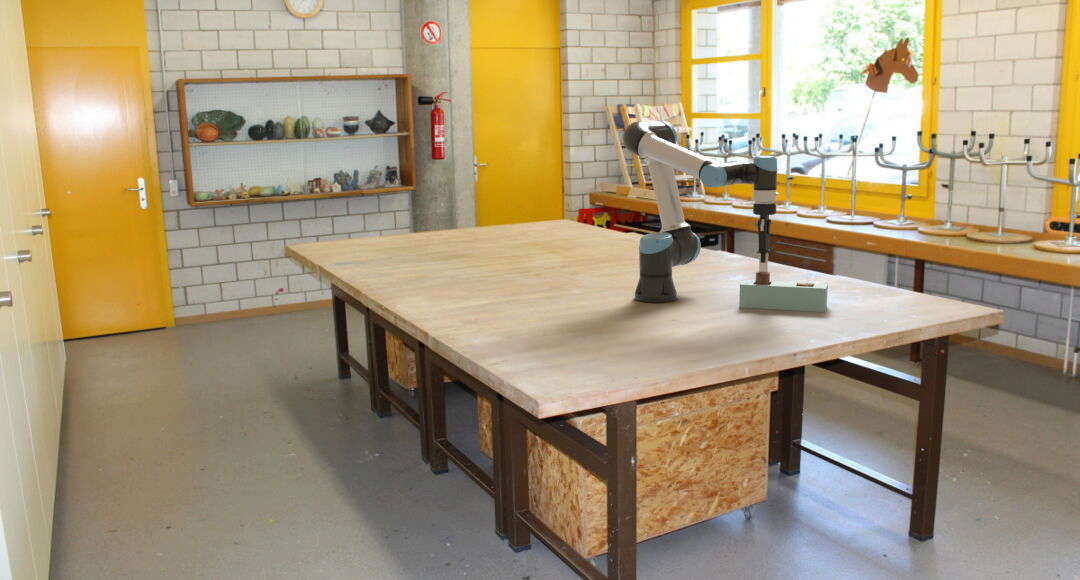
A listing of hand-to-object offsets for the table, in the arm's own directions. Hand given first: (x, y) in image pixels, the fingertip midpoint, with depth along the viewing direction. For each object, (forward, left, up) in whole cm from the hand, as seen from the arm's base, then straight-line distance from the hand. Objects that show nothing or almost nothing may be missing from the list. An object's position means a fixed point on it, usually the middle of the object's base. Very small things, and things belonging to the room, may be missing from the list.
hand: (763, 271), depth 305 cm
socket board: (+7, 0, -12) cm, 14 cm away
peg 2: (+14, 0, -12) cm, 18 cm away
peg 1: (0, 0, -8) cm, 8 cm away
